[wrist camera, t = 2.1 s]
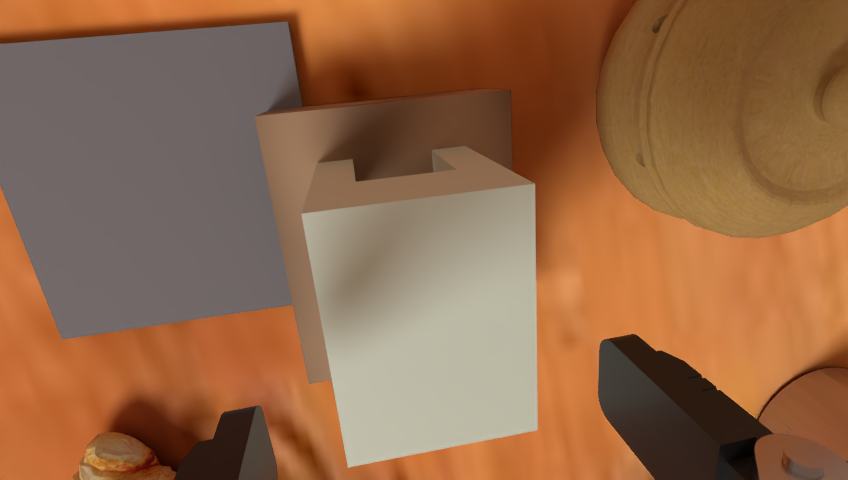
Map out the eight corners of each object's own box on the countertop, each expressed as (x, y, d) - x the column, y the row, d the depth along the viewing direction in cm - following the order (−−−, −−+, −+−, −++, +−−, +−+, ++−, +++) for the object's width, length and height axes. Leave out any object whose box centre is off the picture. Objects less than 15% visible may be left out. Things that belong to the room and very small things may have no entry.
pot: (555, 207, 25) (679, 282, 16) (573, -43, 21) (751, -138, 12) (748, 194, 27) (964, 255, 18) (798, -39, 23) (1106, -119, 14)
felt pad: (289, 23, 20) (287, 21, 20) (334, 293, 25) (334, 298, 24) (-43, 49, 19) (-55, 48, 18) (68, 333, 23) (61, 339, 22)
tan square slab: (482, 88, 23) (510, 90, 19) (492, 310, 27) (517, 347, 23) (269, 109, 21) (254, 116, 18) (314, 339, 25) (309, 384, 22)
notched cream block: (465, 146, 19) (535, 183, 12) (475, 318, 22) (537, 430, 15) (317, 163, 18) (301, 213, 11) (346, 339, 21) (348, 467, 14)
